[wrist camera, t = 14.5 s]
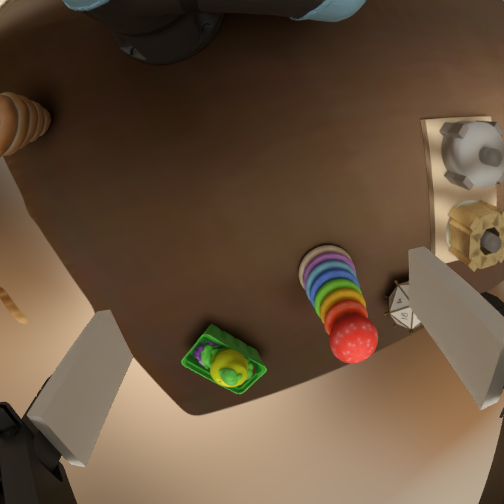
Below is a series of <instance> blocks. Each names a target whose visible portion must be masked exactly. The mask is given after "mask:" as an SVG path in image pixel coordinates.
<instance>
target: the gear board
mask: <svg viewBox="0 0 504 504" xmlns="http://www.w3.org/2000/svg"><path fill="white" fill-rule="evenodd" d="M420 121H421V127H422V134H423V141H424V148H425V157H426V166H427V176H428V187H429V202H430V222H431V252H432V253H433V254H434V255H435V256H437V257H438V258H439V259H440V260H441V261H443V262H444V263H449V262H452V261H456V260H459V259H457V258H456V257H455V256H454V255H453V254H452V253H450V252H449V251H448V249H449V248H450V247H451V245H450V244H449V223H448V222H449V221H450V219H451V218H450V217H449V216H448V214H449V213H450V211H451V209H452V208H453V206H456V207H459V206H460V205H462V204H467V203H472V202H478V203H480V201H481V200H482V201H484V202H487V203H489V204H491V205H493V206H496V183H497V184H500V185H502V183H503V181H504V141H503V139H502V137H501V135H502V133H503V131H504V130H503V129H502V128H501V127H500V125H499V124H498V123H497V122H491V116H473V117H451V118H436V119H423V120H420ZM501 243H502V242H501V239H500V238H499V237H498V236H496V235H494V234H493V233H491V232H489V231H487V230H486V231H485V232H484V234H483V235H482V237H481V238H480V245H481V246H483V247H484V248H486V249H487V250H489V251H490V252H492V253H496V252H498V251H499V249H500V247H501Z"/></svg>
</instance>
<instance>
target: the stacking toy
mask: <svg viewBox="0 0 504 504" xmlns="http://www.w3.org/2000/svg"><path fill="white" fill-rule="evenodd" d="M299 280H300V283H301V285H302V287H303V288H304V289H305V291H306V293H307V296H308V298H309V300H310V301H311V303H312V305H313V307H314V308H315V310H316V313H317V314H318V316H319V317H320V318H321V320H322V322H323V323H324V326H325V330H326V332H327V333H328V334H329V335H330V336H329V343H330V348H331V350H332V352H333V354H334V355H335V356H336V357H337V358H338V359H340V360H341V361H343V362H346V363H358V362H362V361H363V360H366V359H367V358H368V357H370V356H371V354H372V353H373V352H374V350H375V348H376V346H377V342H378V334H377V330H376V328H375V326H374V324H373V323H372V322H371V321H370V320H369V319H368V313H367V310H366V303H365V300H364V298H363V296H362V292H361V290H360V286H359V282H358V280H357V277H356V269H355V266H354V264H353V262H352V259H351V257H350V256H349V254H348V253H347V252H346V251H345V250H343V249H342V248H340V247H337V246H333V245H324V246H320V247H317V248H315V249H313V250H311V251H310V252H309V253H308V254H307V255H306V256H305V257H304V258H303V260H302V262H301V264H300V267H299Z"/></svg>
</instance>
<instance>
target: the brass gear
mask: <svg viewBox="0 0 504 504" xmlns="http://www.w3.org/2000/svg"><path fill="white" fill-rule="evenodd" d="M448 216H449V217H450V218H451V219H450V221H449V222H448V223H449V244H450V245H451V247H450V248H449V249H448V251H449V252H450V253H452V254H453V255H454V256H455V257H456V258H457V259H459V260H460V261H461V262H463V263H464V264H465V265H466V266H468V267H469V268H470V269H471V270H473V271H475V270H476V269H477V267H478V268H479V269H483V268H486V267H489V266H492V265H495V264H496V263H497V262H498V261H499V262H500V263H501V262H502V261H503V259H504V210H502V209H500V208H498V207H496V206H493V205H491V204H489V203H487V202H484V201H482V200H481V201H480V203H478V202H472V203H467V204H462V205H460V206H459V207H456V206H453V208H452V209H451V211H450V213H449V214H448ZM486 230H487V231H489V232H491V233H493V234H494V235H496V236H498V237H499V238H500V239H501V242H502V243H501V247H500V249H499V251H498V252H496V253H492V252H490V251H489V250H487V249H486V248H484V247H483V246H481V245H480V238H481V237H482V235H483V234H484V232H485V231H486Z"/></svg>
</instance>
